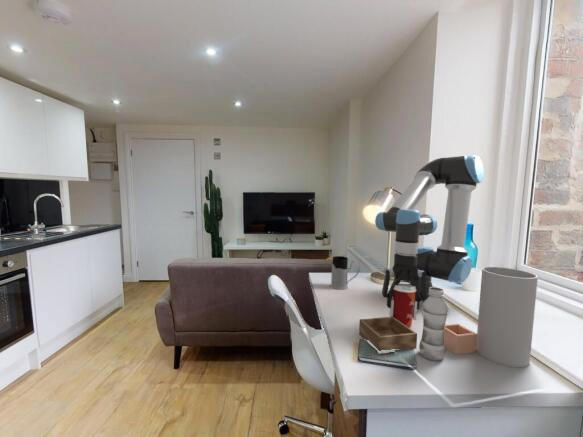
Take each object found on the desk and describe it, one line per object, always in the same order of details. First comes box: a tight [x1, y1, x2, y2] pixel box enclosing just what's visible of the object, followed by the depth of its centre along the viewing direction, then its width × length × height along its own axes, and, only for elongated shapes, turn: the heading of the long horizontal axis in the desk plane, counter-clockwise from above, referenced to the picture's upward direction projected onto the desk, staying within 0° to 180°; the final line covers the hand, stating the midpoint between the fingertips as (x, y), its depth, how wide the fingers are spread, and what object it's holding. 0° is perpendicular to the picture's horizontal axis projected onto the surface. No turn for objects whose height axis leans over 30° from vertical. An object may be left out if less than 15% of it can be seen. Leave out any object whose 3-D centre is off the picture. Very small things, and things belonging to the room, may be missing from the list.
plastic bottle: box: [418, 286, 449, 362], centre depth 80 cm, size 6×7×20 cm
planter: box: [444, 323, 477, 355], centre depth 86 cm, size 7×7×6 cm
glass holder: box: [329, 255, 361, 291], centre depth 142 cm, size 9×14×15 cm, turn 82°
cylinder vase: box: [476, 266, 539, 368], centre depth 81 cm, size 12×12×25 cm
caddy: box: [358, 316, 418, 351], centre depth 89 cm, size 12×12×5 cm
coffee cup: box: [392, 281, 417, 329], centre depth 100 cm, size 8×8×15 cm
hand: (402, 317), depth 100 cm, fingers closed on coffee cup, 7 cm apart
